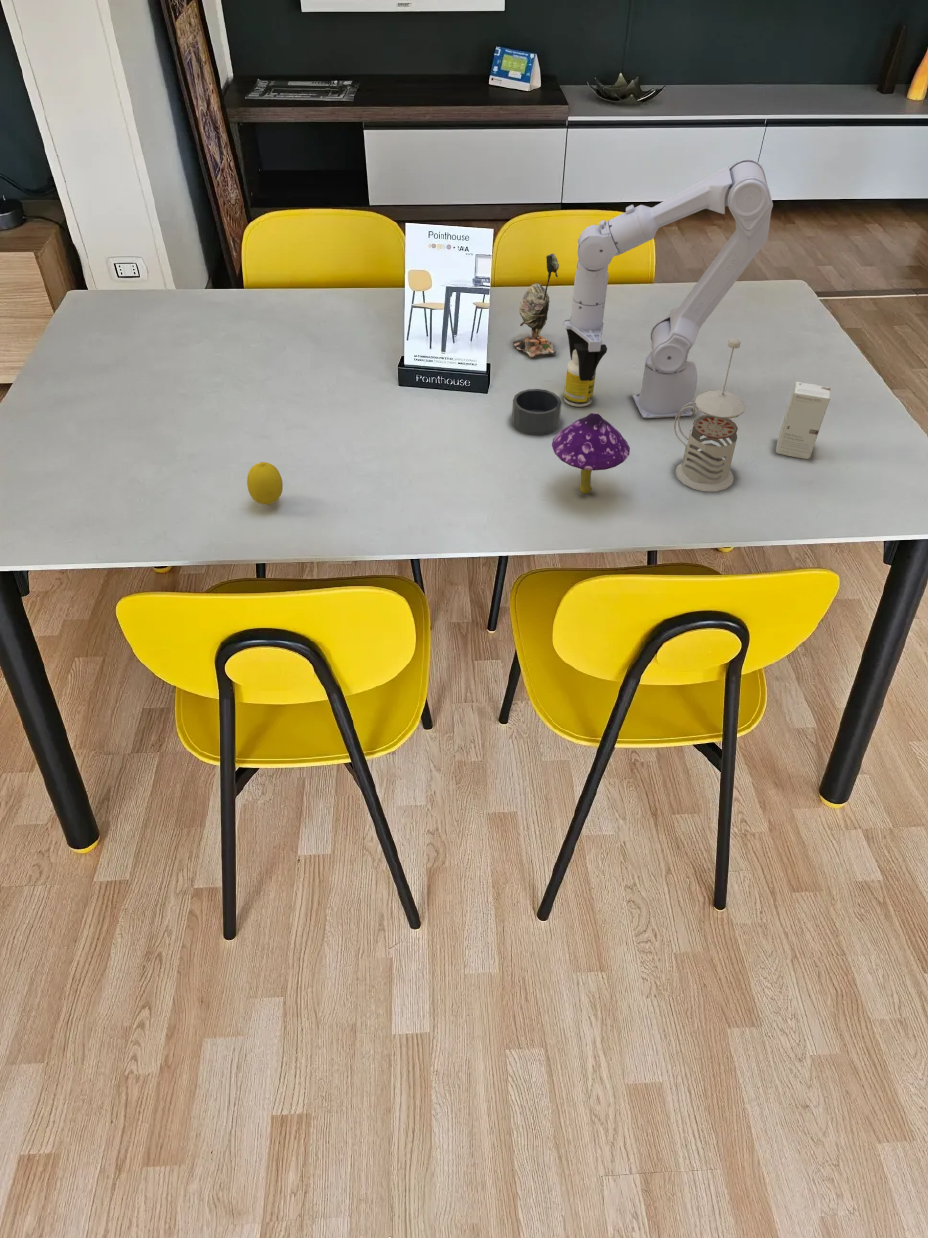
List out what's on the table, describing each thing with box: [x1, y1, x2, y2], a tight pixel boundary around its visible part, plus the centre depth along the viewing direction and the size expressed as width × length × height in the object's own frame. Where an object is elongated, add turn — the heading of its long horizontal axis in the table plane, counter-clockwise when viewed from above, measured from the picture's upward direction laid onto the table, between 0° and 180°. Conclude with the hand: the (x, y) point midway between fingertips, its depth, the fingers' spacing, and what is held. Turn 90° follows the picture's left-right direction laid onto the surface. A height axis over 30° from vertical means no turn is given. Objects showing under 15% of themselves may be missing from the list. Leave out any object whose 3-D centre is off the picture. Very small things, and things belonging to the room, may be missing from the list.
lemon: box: [246, 461, 284, 506], centre depth 151 cm, size 6×6×8 cm
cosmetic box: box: [775, 381, 832, 460], centre depth 164 cm, size 6×4×12 cm
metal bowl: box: [511, 388, 562, 436], centre depth 171 cm, size 9×9×4 cm
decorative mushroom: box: [551, 412, 631, 495], centre depth 152 cm, size 12×12×15 cm
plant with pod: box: [512, 253, 560, 358], centre depth 188 cm, size 8×11×20 cm
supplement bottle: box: [563, 349, 597, 408], centre depth 176 cm, size 5×5×10 cm
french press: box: [673, 337, 747, 492], centre depth 153 cm, size 10×12×25 cm
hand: (581, 369), depth 175 cm, fingers open, 7 cm apart
